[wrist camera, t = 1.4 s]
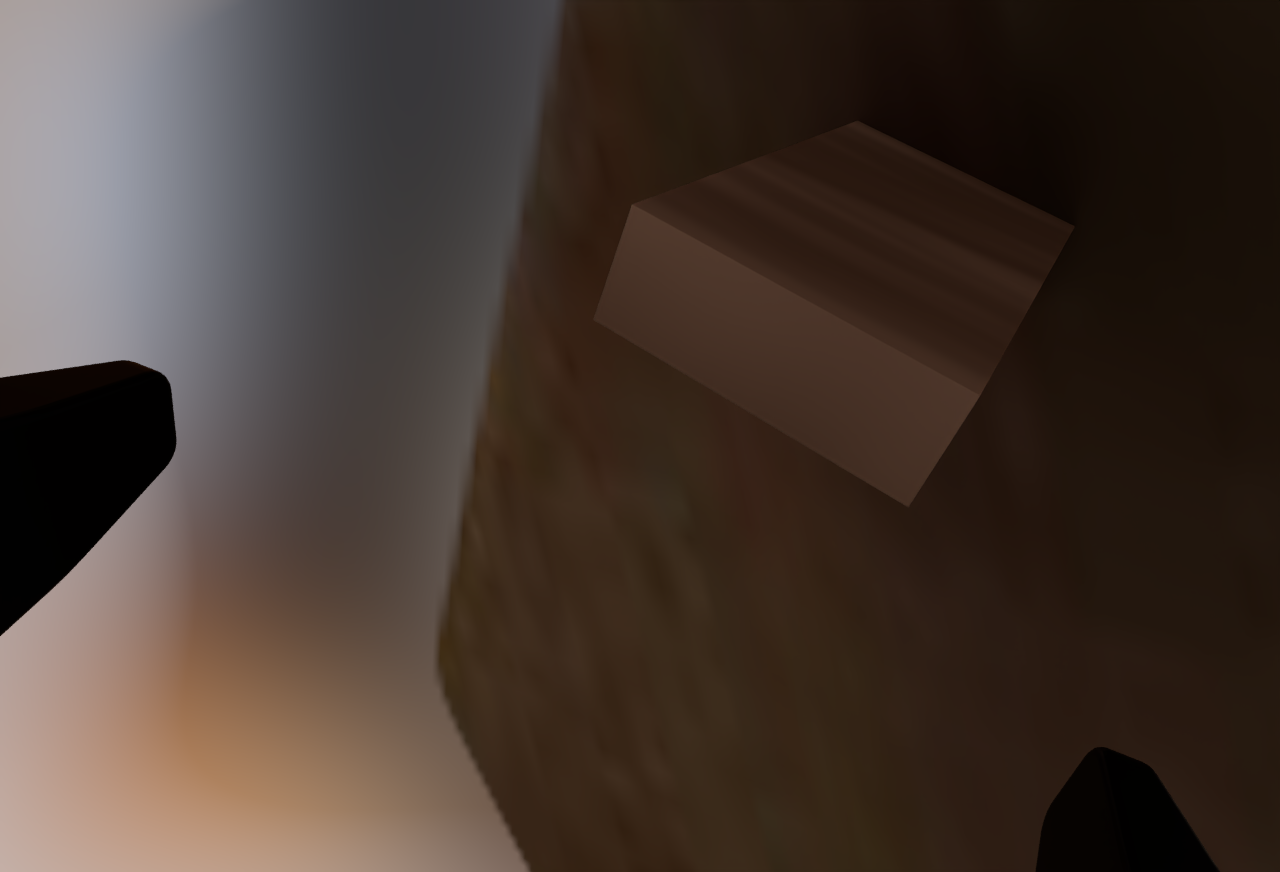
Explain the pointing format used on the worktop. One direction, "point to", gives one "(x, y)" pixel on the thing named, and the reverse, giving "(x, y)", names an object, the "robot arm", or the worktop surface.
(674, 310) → the end domino
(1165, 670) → the worktop surface
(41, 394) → the robot arm
